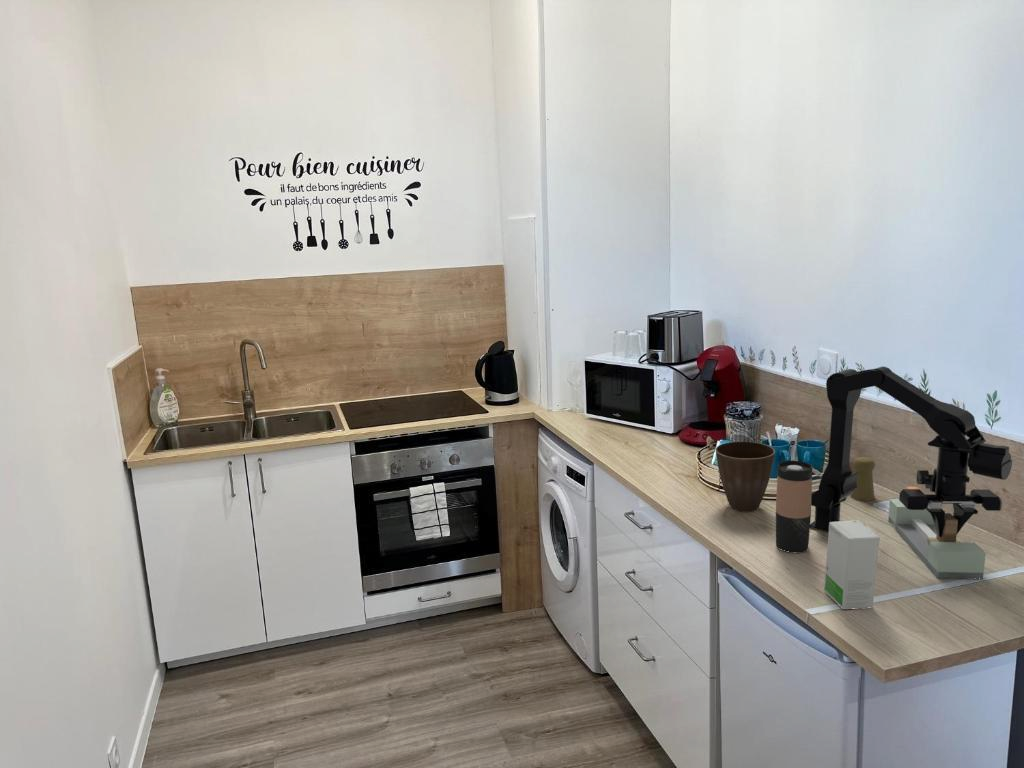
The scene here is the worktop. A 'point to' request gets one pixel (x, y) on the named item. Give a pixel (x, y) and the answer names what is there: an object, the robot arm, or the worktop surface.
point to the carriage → (946, 531)
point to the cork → (864, 479)
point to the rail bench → (936, 545)
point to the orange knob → (913, 487)
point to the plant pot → (744, 473)
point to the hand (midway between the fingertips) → (946, 536)
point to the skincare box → (851, 564)
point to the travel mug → (793, 505)
